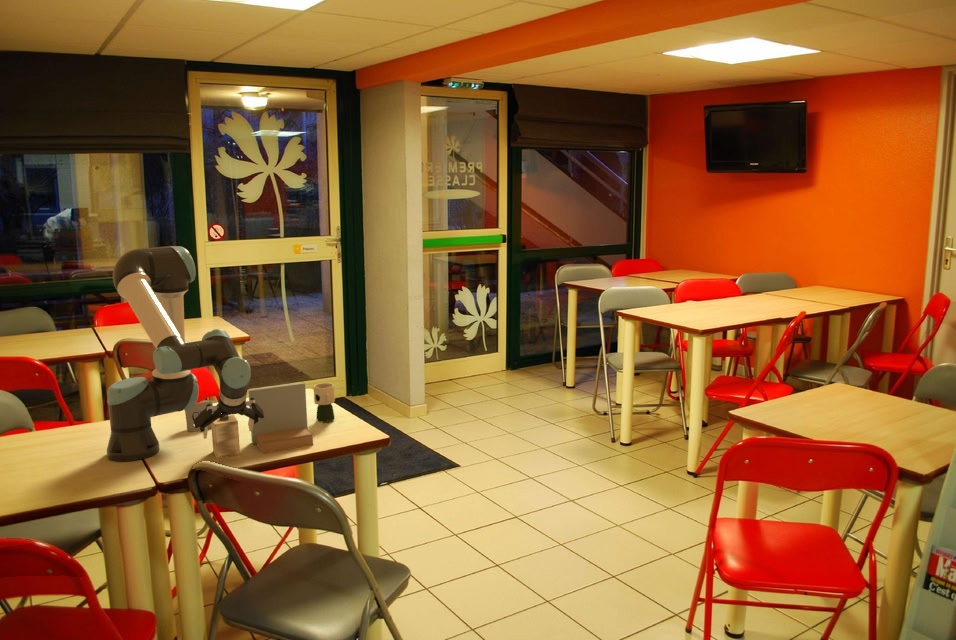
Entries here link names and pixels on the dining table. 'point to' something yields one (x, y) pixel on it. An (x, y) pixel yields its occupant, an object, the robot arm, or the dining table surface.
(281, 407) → the grey panel display stand
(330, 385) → the character mug
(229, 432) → the tan canister
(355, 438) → the dining table surface
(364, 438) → the dining table surface
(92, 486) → the dining table surface
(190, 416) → the electrical switch
